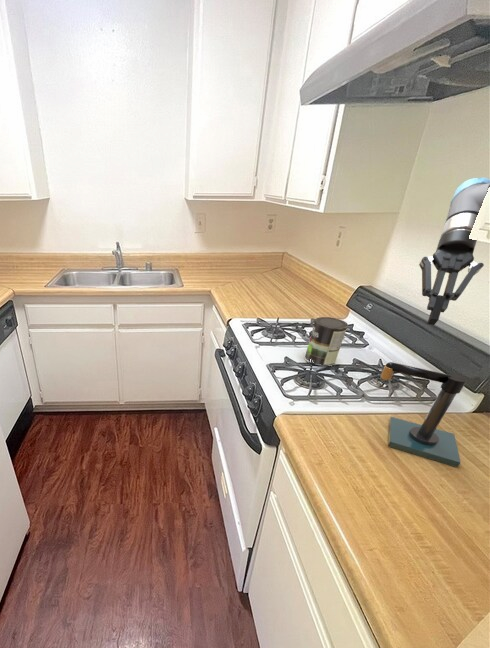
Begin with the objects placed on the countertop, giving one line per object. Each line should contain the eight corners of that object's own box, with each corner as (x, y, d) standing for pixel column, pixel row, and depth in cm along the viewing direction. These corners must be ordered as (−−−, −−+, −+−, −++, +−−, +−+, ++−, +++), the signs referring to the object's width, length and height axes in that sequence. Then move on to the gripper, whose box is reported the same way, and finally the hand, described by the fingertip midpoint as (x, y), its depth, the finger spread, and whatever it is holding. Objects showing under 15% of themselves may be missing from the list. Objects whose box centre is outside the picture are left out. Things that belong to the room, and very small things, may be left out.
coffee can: (306, 365, 118) (318, 326, 110) (302, 353, 126) (312, 315, 119) (338, 368, 117) (352, 329, 109) (331, 355, 125) (343, 318, 117)
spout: (457, 391, 78) (466, 375, 75) (459, 398, 75) (468, 382, 73) (380, 373, 84) (386, 358, 82) (380, 379, 81) (386, 364, 79)
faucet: (451, 438, 87) (483, 387, 78) (457, 467, 78) (494, 413, 70) (388, 420, 92) (412, 371, 84) (387, 446, 83) (414, 393, 75)
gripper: (482, 251, 88) (458, 334, 85) (422, 245, 93) (397, 323, 90) (498, 230, 81) (472, 320, 78) (433, 225, 86) (406, 309, 83)
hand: (432, 321), depth 84 cm, fingers closed
